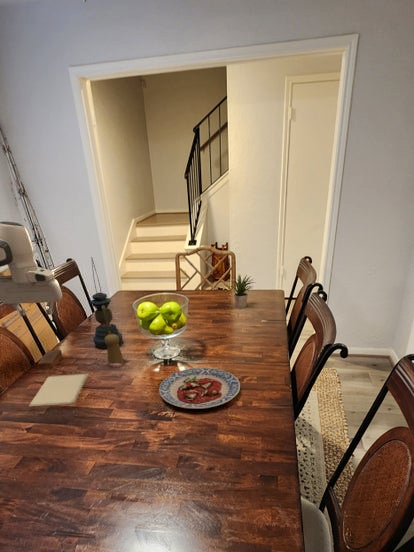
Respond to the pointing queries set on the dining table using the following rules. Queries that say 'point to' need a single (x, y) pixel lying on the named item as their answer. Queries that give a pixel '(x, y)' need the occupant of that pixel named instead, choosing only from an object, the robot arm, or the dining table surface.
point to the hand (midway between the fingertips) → (36, 314)
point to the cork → (113, 349)
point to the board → (59, 390)
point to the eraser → (50, 359)
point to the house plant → (241, 291)
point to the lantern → (103, 318)
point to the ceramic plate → (199, 388)
